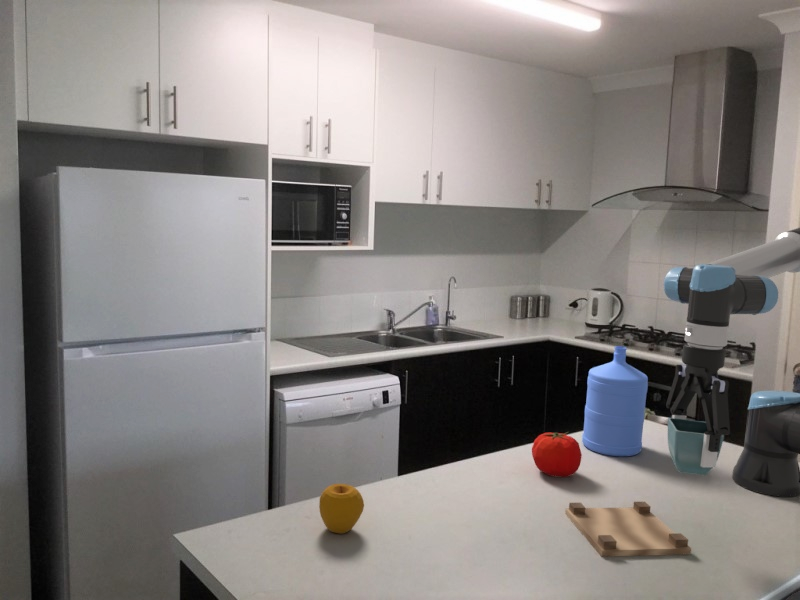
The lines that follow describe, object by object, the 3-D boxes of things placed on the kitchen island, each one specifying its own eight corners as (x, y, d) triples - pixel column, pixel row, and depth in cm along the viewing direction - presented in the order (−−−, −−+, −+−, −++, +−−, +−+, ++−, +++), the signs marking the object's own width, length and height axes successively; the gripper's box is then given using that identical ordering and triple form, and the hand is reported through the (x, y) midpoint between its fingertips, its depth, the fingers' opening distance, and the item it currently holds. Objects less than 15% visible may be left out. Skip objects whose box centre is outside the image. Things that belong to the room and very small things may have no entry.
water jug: (632, 462, 181) (643, 356, 177) (573, 448, 189) (582, 347, 185) (647, 446, 194) (657, 347, 190) (592, 434, 202) (600, 339, 198)
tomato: (586, 472, 172) (589, 432, 171) (570, 487, 163) (574, 444, 161) (540, 461, 179) (543, 422, 177) (522, 474, 169) (525, 433, 168)
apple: (368, 524, 139) (370, 482, 137) (351, 543, 131) (353, 498, 130) (329, 516, 141) (331, 474, 140) (310, 534, 133) (312, 490, 132)
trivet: (644, 512, 151) (645, 500, 150) (690, 554, 133) (692, 540, 133) (565, 513, 148) (566, 501, 148) (601, 556, 131) (602, 542, 130)
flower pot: (719, 481, 132) (725, 435, 131) (670, 475, 134) (676, 430, 132) (708, 465, 141) (713, 422, 140) (662, 459, 142) (667, 417, 141)
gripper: (655, 333, 144) (644, 436, 147) (723, 358, 122) (708, 479, 125) (688, 334, 146) (676, 436, 149) (762, 359, 123) (746, 478, 126)
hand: (691, 456), depth 137 cm, fingers closed on flower pot, 10 cm apart
